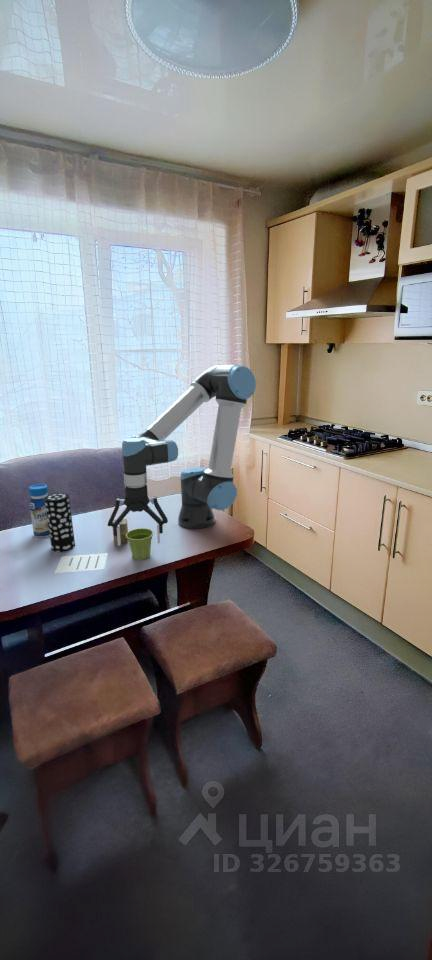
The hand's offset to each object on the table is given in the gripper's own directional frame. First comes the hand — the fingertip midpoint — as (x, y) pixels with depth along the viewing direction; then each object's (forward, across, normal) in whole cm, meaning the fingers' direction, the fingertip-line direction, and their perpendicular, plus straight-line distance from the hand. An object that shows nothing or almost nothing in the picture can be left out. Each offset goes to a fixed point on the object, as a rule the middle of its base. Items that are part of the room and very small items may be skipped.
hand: (139, 542), depth 152 cm
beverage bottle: (+6, +38, -26) cm, 47 cm away
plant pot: (+6, 0, 0) cm, 6 cm away
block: (+5, +8, -14) cm, 17 cm away
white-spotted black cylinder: (+6, +28, -12) cm, 32 cm away
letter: (+6, +20, +2) cm, 20 cm away
